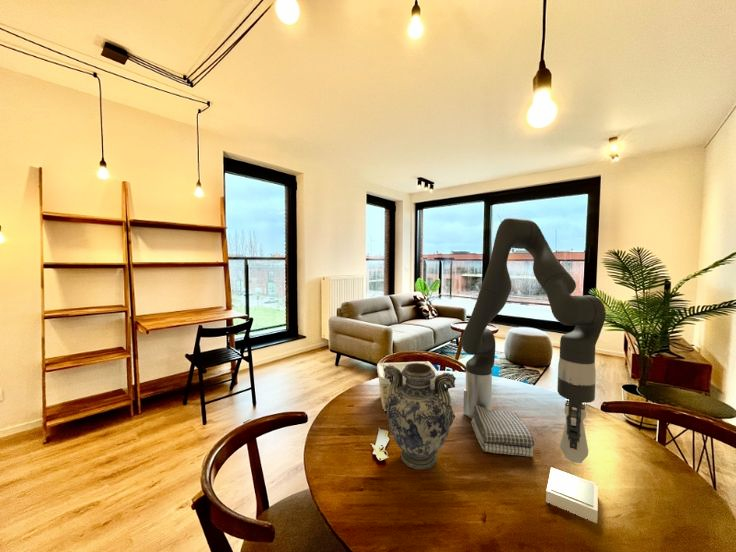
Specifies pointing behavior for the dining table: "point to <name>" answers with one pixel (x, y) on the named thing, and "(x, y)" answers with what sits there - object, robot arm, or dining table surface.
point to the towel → (502, 432)
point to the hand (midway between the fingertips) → (573, 445)
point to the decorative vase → (419, 412)
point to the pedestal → (573, 494)
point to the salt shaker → (573, 445)
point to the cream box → (386, 383)
